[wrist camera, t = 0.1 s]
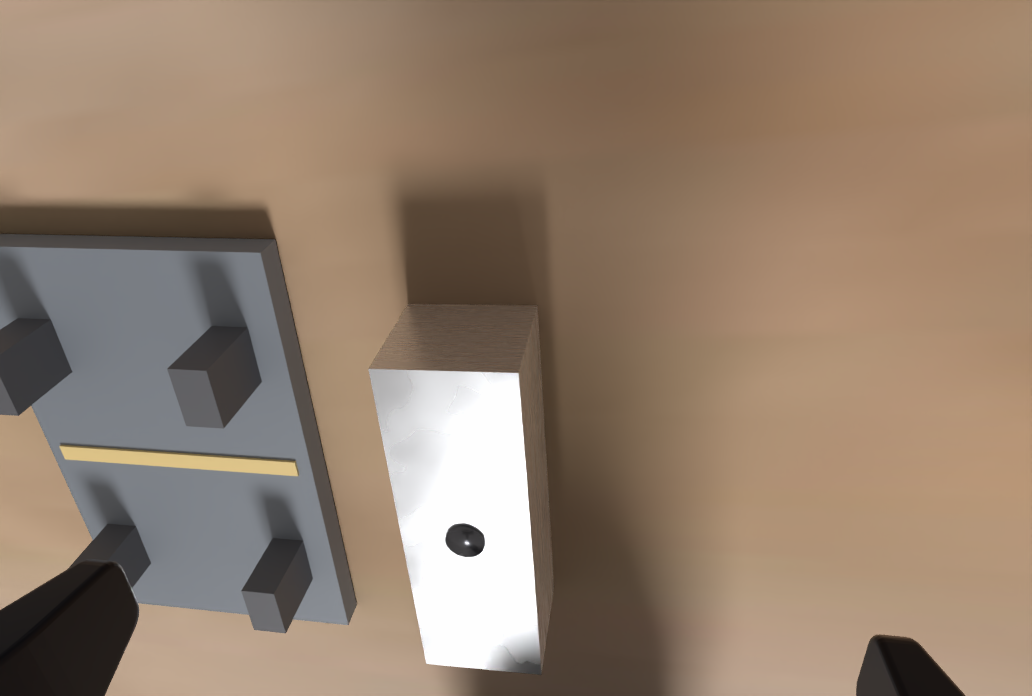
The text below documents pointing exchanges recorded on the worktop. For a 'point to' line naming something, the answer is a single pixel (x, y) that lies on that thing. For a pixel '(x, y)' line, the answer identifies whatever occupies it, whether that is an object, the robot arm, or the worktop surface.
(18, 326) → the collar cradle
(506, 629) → the shiny metal block
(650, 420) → the worktop surface
